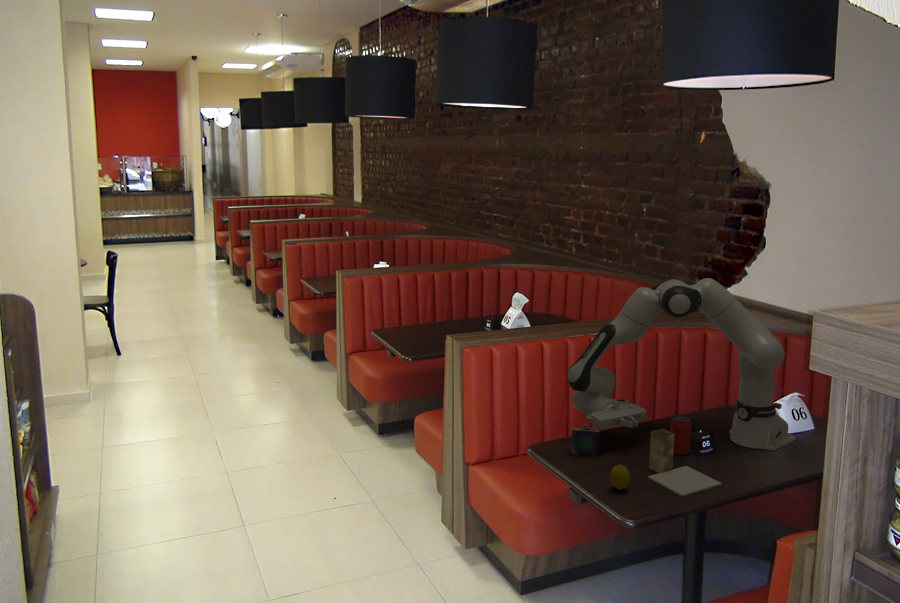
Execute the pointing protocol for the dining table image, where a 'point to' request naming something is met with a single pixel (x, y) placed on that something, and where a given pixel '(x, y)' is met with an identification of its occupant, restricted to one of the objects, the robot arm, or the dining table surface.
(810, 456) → the dining table surface
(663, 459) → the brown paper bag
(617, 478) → the lemon
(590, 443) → the flask
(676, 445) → the beer can
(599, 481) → the dining table surface
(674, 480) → the grey mat
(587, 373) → the robot arm
